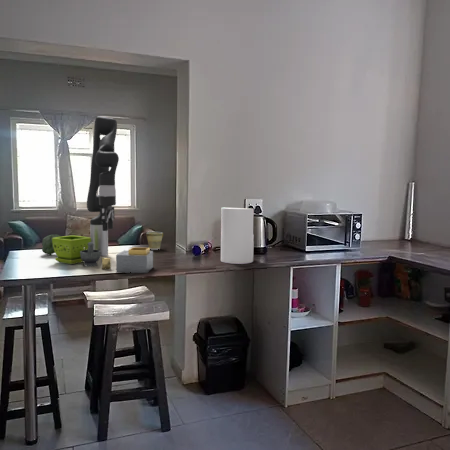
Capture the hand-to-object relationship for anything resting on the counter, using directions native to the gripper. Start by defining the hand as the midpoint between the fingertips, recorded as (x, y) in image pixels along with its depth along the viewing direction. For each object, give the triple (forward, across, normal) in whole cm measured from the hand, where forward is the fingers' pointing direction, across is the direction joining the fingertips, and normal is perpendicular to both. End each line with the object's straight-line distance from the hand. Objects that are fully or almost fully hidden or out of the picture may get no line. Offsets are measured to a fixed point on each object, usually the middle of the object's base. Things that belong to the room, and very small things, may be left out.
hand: (107, 229), depth 209 cm
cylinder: (+19, -28, +60) cm, 69 cm away
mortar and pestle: (+19, -7, -11) cm, 23 cm away
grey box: (+19, +2, +13) cm, 23 cm away
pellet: (+18, 0, -1) cm, 19 cm away
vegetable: (+18, -34, -40) cm, 56 cm away
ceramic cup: (+18, -62, +11) cm, 65 cm away
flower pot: (+19, -14, -23) cm, 33 cm away
